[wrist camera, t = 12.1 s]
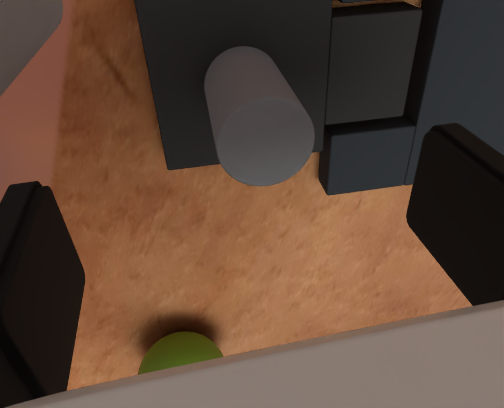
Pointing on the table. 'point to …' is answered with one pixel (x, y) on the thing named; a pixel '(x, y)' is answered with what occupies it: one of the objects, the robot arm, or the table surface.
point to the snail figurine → (179, 351)
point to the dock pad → (427, 99)
